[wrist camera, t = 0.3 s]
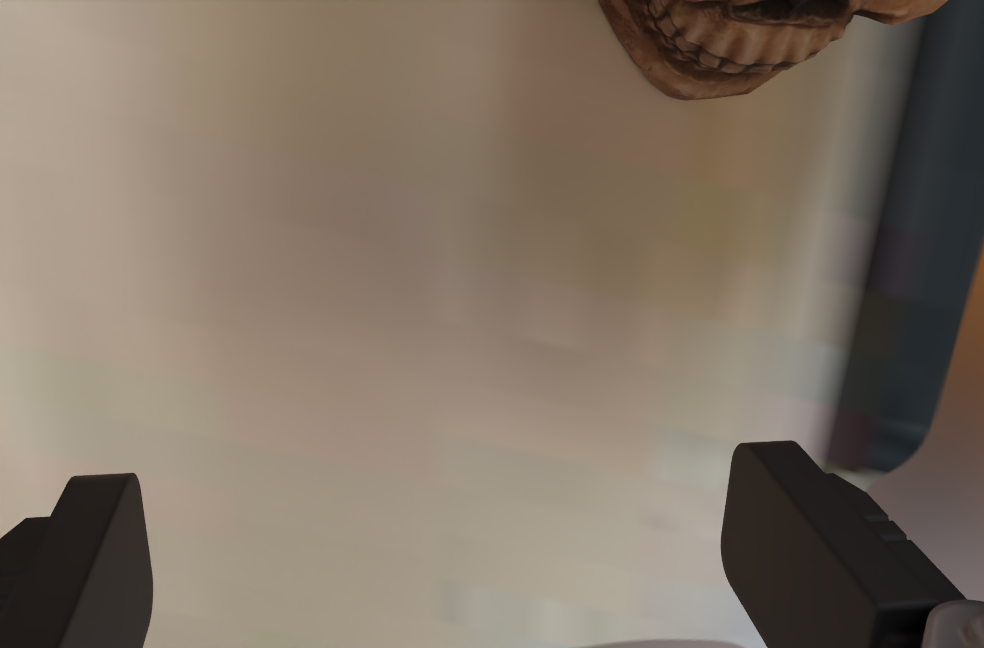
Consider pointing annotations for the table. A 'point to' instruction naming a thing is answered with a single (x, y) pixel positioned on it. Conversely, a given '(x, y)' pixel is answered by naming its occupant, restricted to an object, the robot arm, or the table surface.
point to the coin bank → (737, 37)
